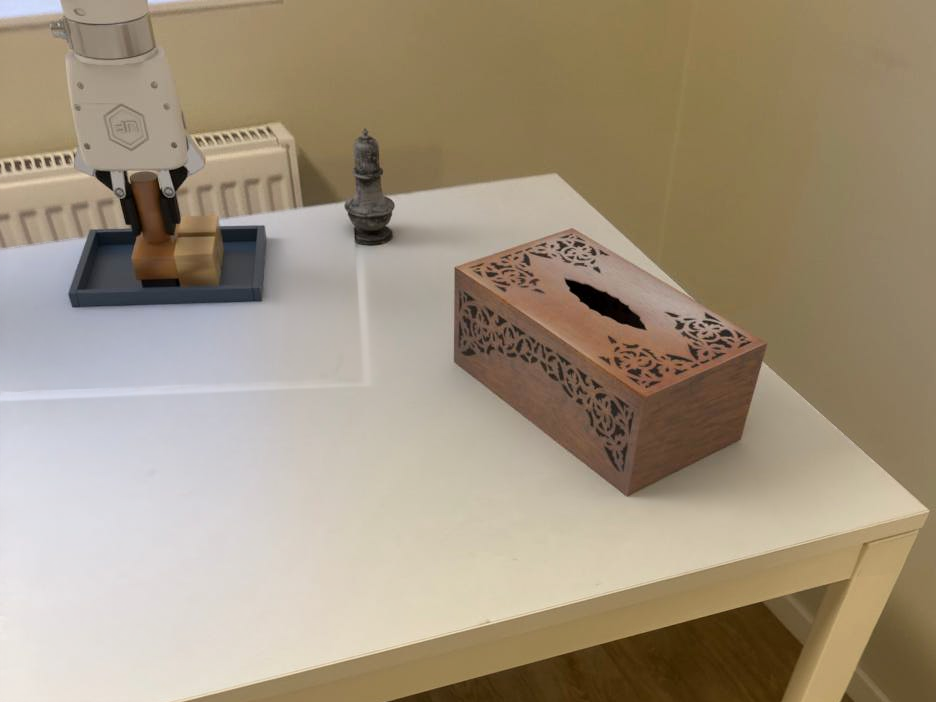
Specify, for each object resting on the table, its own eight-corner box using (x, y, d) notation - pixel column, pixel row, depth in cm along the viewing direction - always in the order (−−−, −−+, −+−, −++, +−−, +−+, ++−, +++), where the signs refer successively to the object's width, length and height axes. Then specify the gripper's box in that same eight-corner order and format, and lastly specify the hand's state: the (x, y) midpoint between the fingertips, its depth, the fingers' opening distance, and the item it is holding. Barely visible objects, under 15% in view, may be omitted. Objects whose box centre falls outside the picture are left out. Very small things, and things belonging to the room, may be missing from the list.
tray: (73, 314, 101) (67, 293, 100) (95, 248, 111) (89, 229, 109) (262, 307, 103) (259, 287, 101) (267, 244, 113) (264, 224, 111)
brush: (138, 290, 103) (115, 196, 96) (148, 251, 109) (127, 159, 102) (180, 289, 104) (161, 195, 96) (188, 250, 110) (169, 158, 102)
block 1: (185, 267, 107) (177, 232, 104) (188, 250, 110) (181, 215, 107) (222, 266, 107) (215, 231, 104) (224, 249, 110) (218, 215, 107)
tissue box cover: (740, 439, 90) (767, 343, 82) (626, 496, 84) (644, 397, 76) (563, 320, 103) (572, 228, 96) (453, 361, 97) (454, 266, 90)
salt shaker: (358, 250, 112) (351, 142, 104) (338, 229, 116) (329, 123, 107) (404, 240, 114) (400, 133, 106) (383, 220, 118) (378, 114, 109)
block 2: (181, 290, 104) (173, 254, 101) (184, 272, 106) (177, 236, 103) (219, 289, 104) (212, 253, 101) (221, 271, 107) (214, 235, 104)
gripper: (12, 49, 86) (71, 248, 100) (198, 48, 88) (230, 245, 101) (28, 22, 91) (82, 216, 105) (204, 22, 93) (234, 213, 106)
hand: (155, 228), depth 103 cm, fingers closed on brush, 2 cm apart
